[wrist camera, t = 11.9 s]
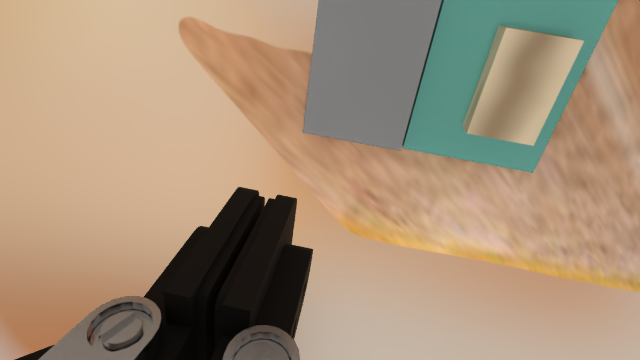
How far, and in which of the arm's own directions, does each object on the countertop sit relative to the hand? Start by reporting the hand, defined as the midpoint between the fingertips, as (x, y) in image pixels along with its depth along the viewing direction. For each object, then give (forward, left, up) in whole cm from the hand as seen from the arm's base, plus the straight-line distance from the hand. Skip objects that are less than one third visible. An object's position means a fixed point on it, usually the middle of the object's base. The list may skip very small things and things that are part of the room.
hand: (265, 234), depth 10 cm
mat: (-14, -2, -27) cm, 31 cm away
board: (-2, -2, -27) cm, 27 cm away
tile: (-15, -1, -26) cm, 30 cm away
